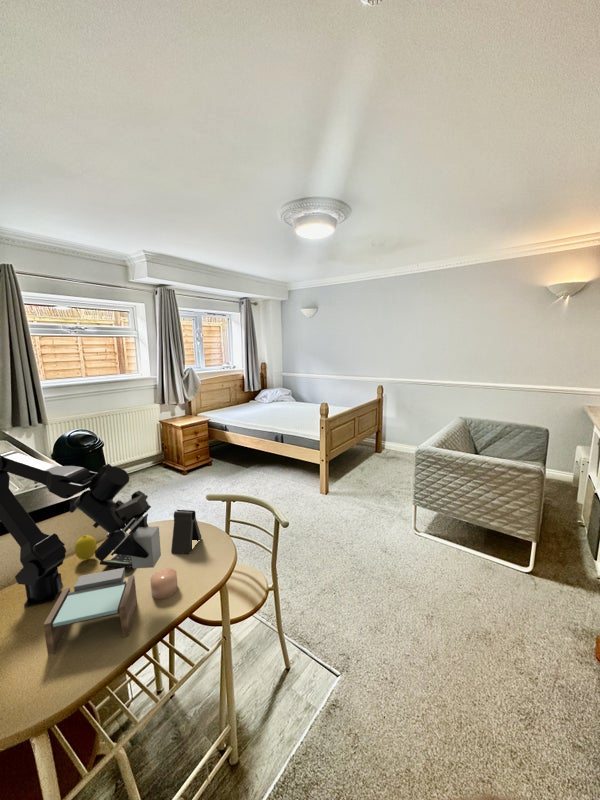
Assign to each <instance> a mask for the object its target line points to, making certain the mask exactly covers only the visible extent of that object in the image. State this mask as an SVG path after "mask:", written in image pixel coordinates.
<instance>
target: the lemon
mask: <svg viewBox="0 0 600 800" xmlns="http://www.w3.org/2000/svg"><path fill="white" fill-rule="evenodd" d="M97 548H98V547H97V541H96V539H95V538H94V537H93V536H92V535H86V534H85V535H83V536H82V537H80V538H78V540H76V543H75V545H74V554H75V556H76V557H77V559H80V560H83V561H84V560H85V561H88V560H90V559H91V558H92V557H93V556H95V551H96V550H97Z"/></svg>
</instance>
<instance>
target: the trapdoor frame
mask: <svg viewBox="0 0 600 800" xmlns="http://www.w3.org/2000/svg"><path fill="white" fill-rule="evenodd" d="M135 579H136V578H135V574H134V575H129V576H128V577H127V581H126V583H127V584H126V587H125V591H124V594H123V597H122V600H121V604H120V607H119V610H118V612H119V618H120V619H119V621H120V627H121V635H122V636H121V637H122V638H126V637H129V635H130V630H131V628H132V623H133V619H134V615H135V610H136V606H137V602H138V598H137V589H136V580H135ZM69 592H71V589H70V587H66V588H63V590H62V591H61V593H60V595H59V596H58V598H57V600H56V602H55V603H54V605H53V607H52V609H51V610H50V612H49V614H48V615H47V617H46V619H45V621H44V623H43V630H44V637H45V645H46V651H47V656H52V655H54V654H56V652H57V650H58V648H59V647H60V644H61V641H62V640H63V638H64V635H65V634H66V631H67V629H68V628H69V625H70V623H69V624H65V625H60V626H56V627H53V622H54V620H55V619H56V617H57V615H58V613H59V611H60V609H61V607H62V606H63V604H64V602H65V600H66V598H67V596H68V593H69Z"/></svg>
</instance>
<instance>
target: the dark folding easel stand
mask: <svg viewBox="0 0 600 800" xmlns="http://www.w3.org/2000/svg"><path fill="white" fill-rule="evenodd" d="M202 537H203V536H202V534H201V530H200V527H199V525H198V520H197V517H196V511H195V510H190V509H189V510H188V509H176V510H174V513H173V531H172V541H171V551H170V552H173V553H172V554H182V553H185V555H190V554H191V553H192V552H191V551H193V550H192V540H197V541H198V540H200V539H201V538H202ZM201 540H202V539H201ZM201 540H200V541H201ZM190 552H191V553H190ZM189 553H190V554H189Z"/></svg>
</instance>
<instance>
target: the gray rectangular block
mask: <svg viewBox="0 0 600 800" xmlns="http://www.w3.org/2000/svg"><path fill="white" fill-rule="evenodd" d="M133 536H134V540H135V541H136V542H137V543H138V544H139V545H140V546H141V547H143V548H144V549H145V550H146V552H147V553H148V554H149V556H148V557H147V558H141V557H135V556H132V566H133V567H132V569H150V568H151V569H153V568H155V566H156V565H157V563H158V561H159V559H160V558H161V556H162V551H161V550H162V549H161V539H160V538H161V536H160V526H158V525H157V526H149V527H139V528H138V529H137V530H136V531H135V532H134V534H133Z"/></svg>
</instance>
